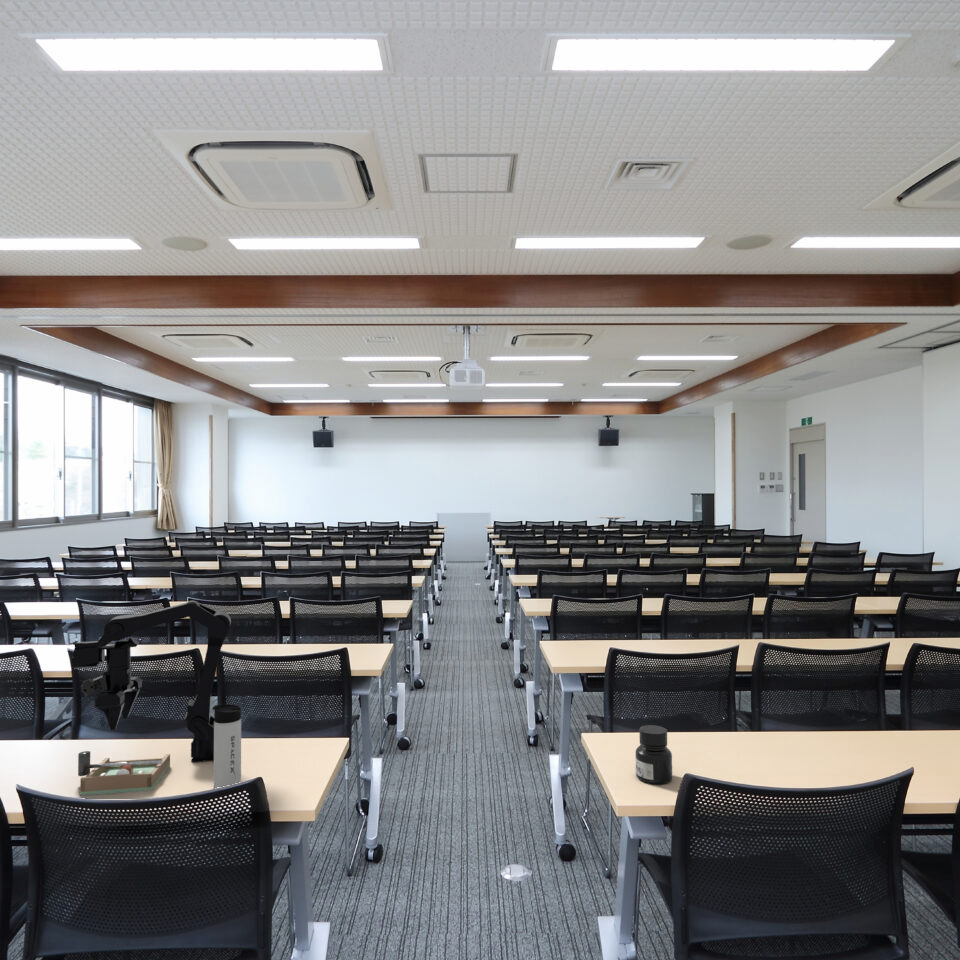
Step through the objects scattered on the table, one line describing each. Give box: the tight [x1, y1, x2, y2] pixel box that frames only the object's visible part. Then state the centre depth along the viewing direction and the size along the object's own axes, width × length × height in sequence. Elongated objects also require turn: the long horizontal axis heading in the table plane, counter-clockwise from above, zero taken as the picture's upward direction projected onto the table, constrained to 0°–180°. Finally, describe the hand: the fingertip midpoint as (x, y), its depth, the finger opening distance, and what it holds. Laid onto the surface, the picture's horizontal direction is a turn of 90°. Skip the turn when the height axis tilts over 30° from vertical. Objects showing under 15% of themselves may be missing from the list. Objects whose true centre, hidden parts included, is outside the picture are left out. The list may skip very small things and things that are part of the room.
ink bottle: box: [635, 724, 673, 785], centre depth 168 cm, size 10×9×12 cm
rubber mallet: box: [77, 750, 162, 777], centre depth 169 cm, size 20×3×6 cm, turn 99°
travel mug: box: [212, 704, 242, 789], centre depth 164 cm, size 6×7×20 cm
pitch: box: [79, 753, 171, 796], centre depth 169 cm, size 16×15×4 cm
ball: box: [116, 769, 130, 775], centre depth 166 cm, size 3×3×3 cm
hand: (119, 723), depth 177 cm, fingers open, 9 cm apart
